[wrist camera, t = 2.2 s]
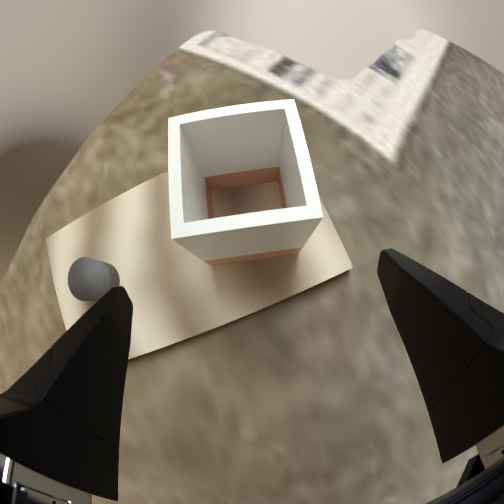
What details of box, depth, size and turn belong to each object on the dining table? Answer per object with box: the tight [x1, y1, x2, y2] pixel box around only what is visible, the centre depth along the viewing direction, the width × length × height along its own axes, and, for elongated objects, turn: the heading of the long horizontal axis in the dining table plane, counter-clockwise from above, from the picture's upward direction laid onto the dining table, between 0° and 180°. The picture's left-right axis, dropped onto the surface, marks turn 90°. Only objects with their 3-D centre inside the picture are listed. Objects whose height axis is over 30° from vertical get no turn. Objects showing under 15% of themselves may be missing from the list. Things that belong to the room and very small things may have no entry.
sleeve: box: [168, 99, 323, 266], centre depth 17 cm, size 6×6×9 cm
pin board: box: [46, 171, 353, 359], centre depth 20 cm, size 24×13×4 cm, turn 113°
